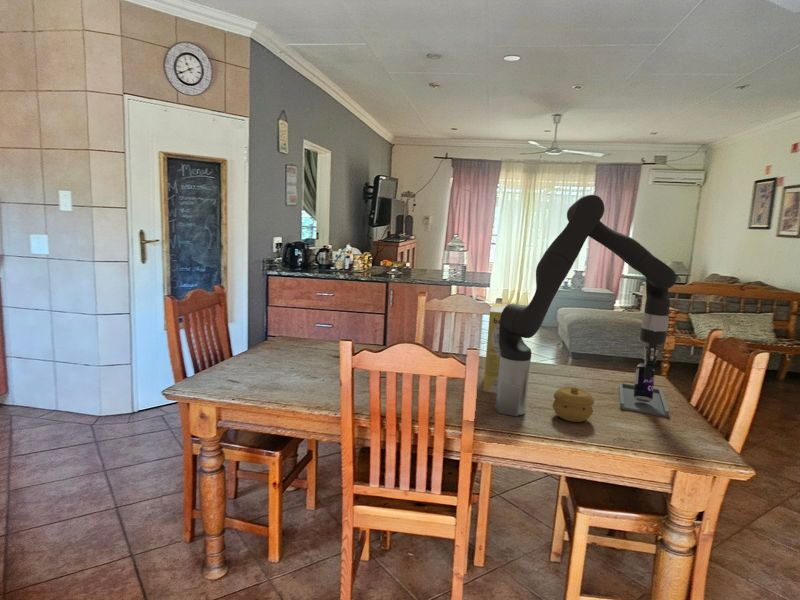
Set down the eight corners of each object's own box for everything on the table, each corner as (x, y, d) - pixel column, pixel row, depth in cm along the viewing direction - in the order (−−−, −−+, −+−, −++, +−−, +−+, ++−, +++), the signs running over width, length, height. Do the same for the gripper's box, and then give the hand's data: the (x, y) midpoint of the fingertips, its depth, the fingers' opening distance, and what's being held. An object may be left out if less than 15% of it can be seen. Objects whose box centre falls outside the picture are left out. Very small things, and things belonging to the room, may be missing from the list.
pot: (598, 419, 154) (602, 388, 153) (581, 430, 146) (585, 397, 144) (561, 408, 162) (565, 378, 160) (544, 417, 154) (547, 386, 152)
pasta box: (486, 375, 192) (492, 303, 187) (514, 379, 189) (521, 305, 185) (483, 391, 174) (489, 311, 169) (514, 395, 172) (522, 314, 167)
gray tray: (668, 417, 159) (669, 411, 159) (619, 408, 164) (620, 403, 164) (660, 394, 181) (661, 389, 181) (618, 387, 186) (619, 382, 186)
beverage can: (642, 397, 164) (645, 362, 168) (629, 398, 169) (632, 364, 173) (656, 402, 165) (658, 366, 169) (643, 402, 170) (645, 368, 174)
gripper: (640, 322, 170) (633, 371, 173) (642, 329, 158) (635, 382, 161) (665, 325, 168) (658, 375, 170) (669, 333, 155) (661, 387, 158)
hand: (647, 379), depth 166 cm, fingers closed
